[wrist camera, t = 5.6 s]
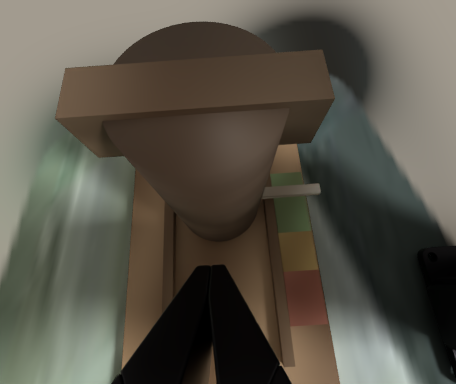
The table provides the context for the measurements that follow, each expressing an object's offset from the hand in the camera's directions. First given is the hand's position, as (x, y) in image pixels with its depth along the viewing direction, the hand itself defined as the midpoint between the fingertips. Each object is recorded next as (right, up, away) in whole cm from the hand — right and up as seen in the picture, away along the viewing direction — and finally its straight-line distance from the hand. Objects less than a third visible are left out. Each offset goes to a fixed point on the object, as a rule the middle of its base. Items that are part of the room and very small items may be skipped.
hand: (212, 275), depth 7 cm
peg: (+1, +2, +6) cm, 7 cm away
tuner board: (0, -2, +6) cm, 7 cm away
